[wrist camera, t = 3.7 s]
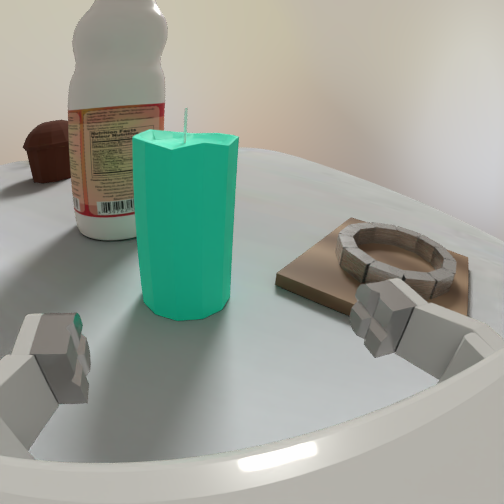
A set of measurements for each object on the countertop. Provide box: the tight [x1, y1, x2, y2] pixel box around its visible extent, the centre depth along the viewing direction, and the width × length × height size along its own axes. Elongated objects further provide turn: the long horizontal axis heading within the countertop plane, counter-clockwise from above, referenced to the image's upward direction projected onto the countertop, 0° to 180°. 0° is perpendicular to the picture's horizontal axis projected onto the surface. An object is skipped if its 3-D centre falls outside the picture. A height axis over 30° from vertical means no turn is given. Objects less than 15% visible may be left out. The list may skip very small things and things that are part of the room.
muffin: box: [23, 120, 71, 183], centre depth 47 cm, size 12×11×10 cm
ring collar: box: [335, 222, 457, 300], centre depth 25 cm, size 10×10×2 cm
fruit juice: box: [68, 0, 168, 240], centre depth 25 cm, size 9×9×28 cm
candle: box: [132, 108, 239, 321], centre depth 19 cm, size 6×6×12 cm
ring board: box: [275, 218, 468, 316], centre depth 26 cm, size 16×14×1 cm
